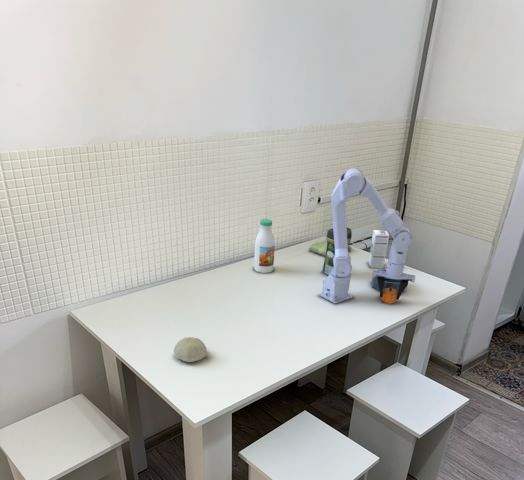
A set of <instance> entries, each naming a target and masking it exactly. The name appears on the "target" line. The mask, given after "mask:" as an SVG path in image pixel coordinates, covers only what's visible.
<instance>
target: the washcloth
mask: <svg viewBox="0 0 524 480" xmlns="http://www.w3.org/2000/svg"><path fill="white" fill-rule="evenodd" d="M352 248H353V247H352V246H350V245H349V251H350V250H352ZM326 249H327V239H326V238H325V239H323V240H321V241H319V242H315V243H312V244H311V245H309V247H308V251H309V252H311V253H315V254H316V255H317V254H318V255H321V256H323V257H325V255H326Z"/></svg>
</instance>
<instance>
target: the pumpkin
mask: <svg viewBox="0 0 524 480" xmlns="http://www.w3.org/2000/svg"><path fill="white" fill-rule="evenodd" d="M397 295H398V293H397V291H396V290H395V289H393V288H392V287H390V288H385V289H384V290H383V292H382V298H381V297H380V300H381V301H382V302H383V303H384V304H387V305H388V304H390V305H392V304H395V303H396V302H397V301H398V300H397Z"/></svg>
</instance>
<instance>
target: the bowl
mask: <svg viewBox="0 0 524 480" xmlns="http://www.w3.org/2000/svg"><path fill="white" fill-rule="evenodd" d="M386 269H387V268H381V269H377V270H378V271H381V270H386ZM370 285H371V287H372V288H374V289H375V290H376V291H379V292H380V289H379V285H378V281H377V277H372V276H371V283H370ZM399 285H400V280H396V279H388V278H385V280H384V286H383V290H384V289H385V288H390V287H392V288H393V289H395V290H396V291H397V293H398V289H399ZM406 290H407V287H406V288H405V289H404V291H403V292H402V293H404V292H405V291H406Z"/></svg>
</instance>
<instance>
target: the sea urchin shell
mask: <svg viewBox="0 0 524 480" xmlns="http://www.w3.org/2000/svg"><path fill="white" fill-rule="evenodd" d="M173 354H174V356H175V357H176V358H177V359H178V360H181V361H182V362H185V363H193V362H196V361H200V360H202V359H204V358H205V357H206V356H207V345H206V344H205V342H204V341H202V340H201V339H200V338H198V337H195V336H191V337H190V336H188V337H183V338H182V339H180V340H178V341H177V343H176V344H175V345H174V348H173Z"/></svg>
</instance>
